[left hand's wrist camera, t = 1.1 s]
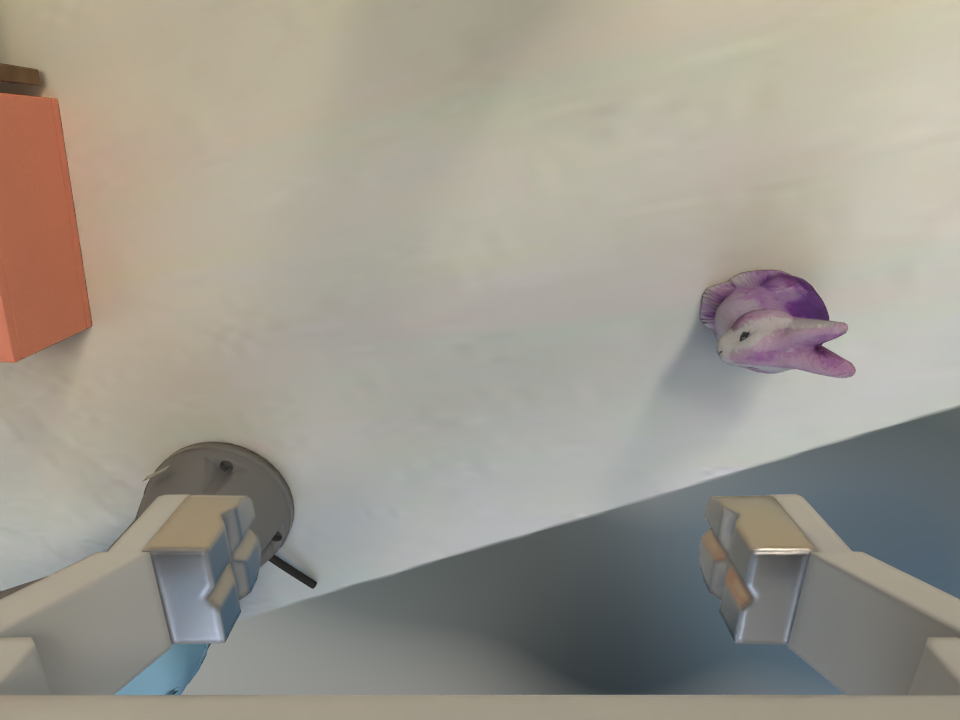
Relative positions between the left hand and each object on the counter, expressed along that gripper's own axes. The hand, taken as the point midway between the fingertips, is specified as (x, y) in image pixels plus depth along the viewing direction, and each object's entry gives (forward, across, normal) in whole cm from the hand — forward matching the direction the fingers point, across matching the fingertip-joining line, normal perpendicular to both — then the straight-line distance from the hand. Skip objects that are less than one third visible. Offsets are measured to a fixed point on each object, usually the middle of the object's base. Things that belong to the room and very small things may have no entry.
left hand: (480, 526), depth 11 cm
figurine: (+46, -25, +9) cm, 53 cm away
